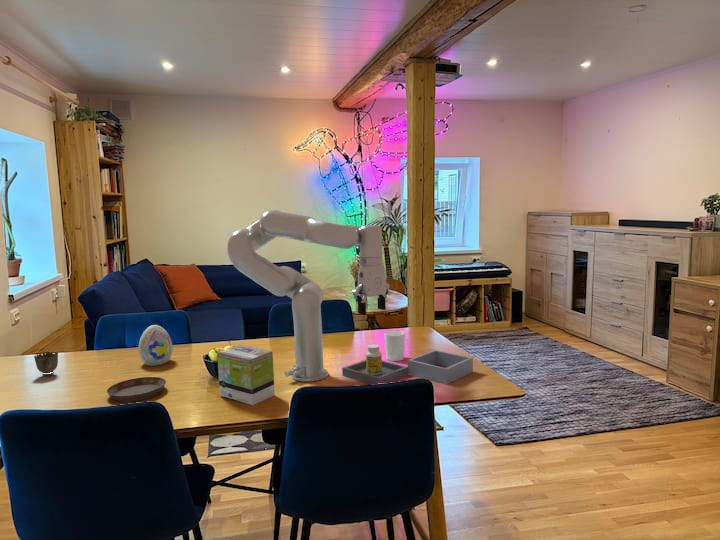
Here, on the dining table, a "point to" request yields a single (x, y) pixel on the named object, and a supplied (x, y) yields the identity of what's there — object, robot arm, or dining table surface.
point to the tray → (387, 375)
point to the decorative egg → (155, 346)
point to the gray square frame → (453, 362)
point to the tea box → (246, 374)
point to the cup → (46, 362)
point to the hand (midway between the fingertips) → (372, 311)
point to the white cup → (394, 345)
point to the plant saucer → (136, 389)
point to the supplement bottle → (373, 360)
